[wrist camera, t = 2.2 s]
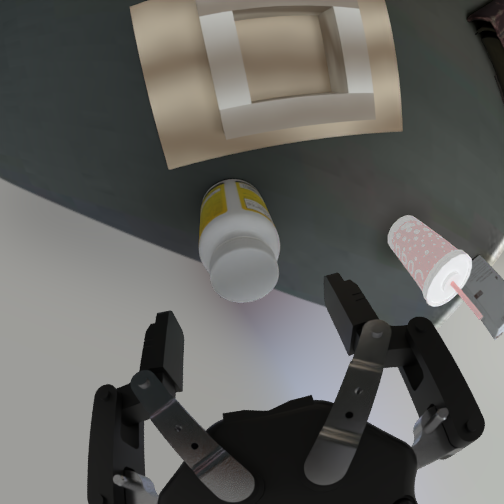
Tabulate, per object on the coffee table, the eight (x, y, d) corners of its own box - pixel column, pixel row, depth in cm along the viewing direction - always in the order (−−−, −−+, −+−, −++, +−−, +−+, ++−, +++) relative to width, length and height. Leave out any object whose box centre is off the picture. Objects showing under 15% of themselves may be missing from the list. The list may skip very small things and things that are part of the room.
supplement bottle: (204, 237, 25) (203, 315, 17) (197, 180, 22) (189, 240, 14) (263, 231, 26) (288, 306, 17) (263, 175, 23) (293, 231, 14)
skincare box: (479, 253, 32) (525, 301, 22) (479, 269, 34) (520, 316, 24) (454, 275, 34) (499, 328, 24) (455, 290, 36) (495, 341, 26)
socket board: (134, 11, 13) (117, -4, 9) (372, -9, 13) (400, -21, 10) (171, 164, 21) (162, 182, 17) (393, 128, 21) (423, 138, 17)
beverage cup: (386, 211, 26) (474, 299, 14) (427, 206, 26) (512, 281, 15) (377, 259, 29) (444, 352, 18) (417, 251, 30) (485, 331, 18)
